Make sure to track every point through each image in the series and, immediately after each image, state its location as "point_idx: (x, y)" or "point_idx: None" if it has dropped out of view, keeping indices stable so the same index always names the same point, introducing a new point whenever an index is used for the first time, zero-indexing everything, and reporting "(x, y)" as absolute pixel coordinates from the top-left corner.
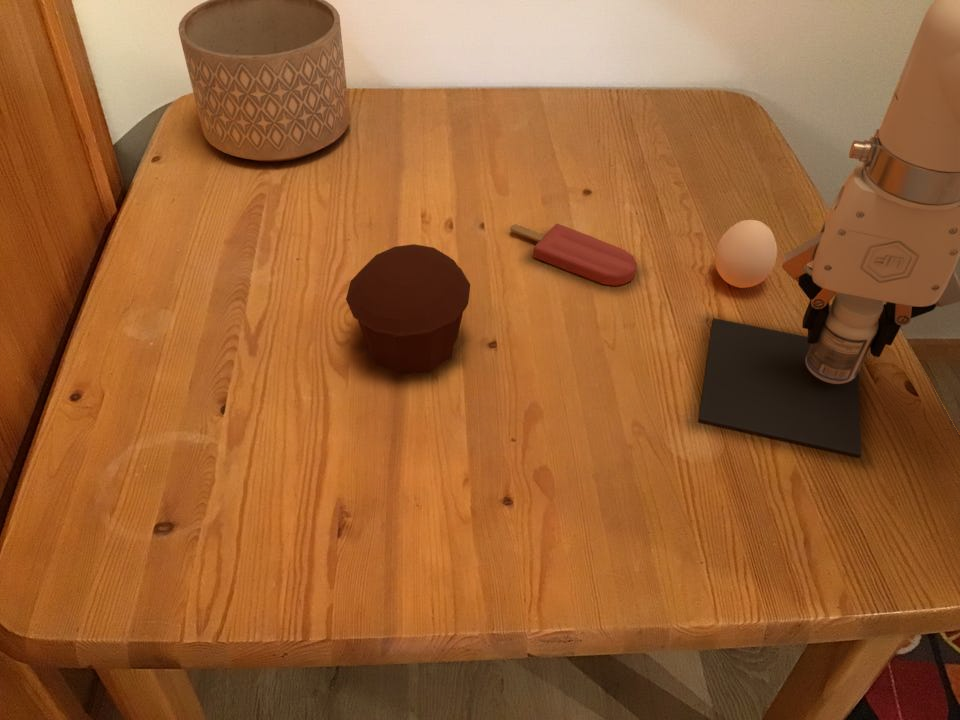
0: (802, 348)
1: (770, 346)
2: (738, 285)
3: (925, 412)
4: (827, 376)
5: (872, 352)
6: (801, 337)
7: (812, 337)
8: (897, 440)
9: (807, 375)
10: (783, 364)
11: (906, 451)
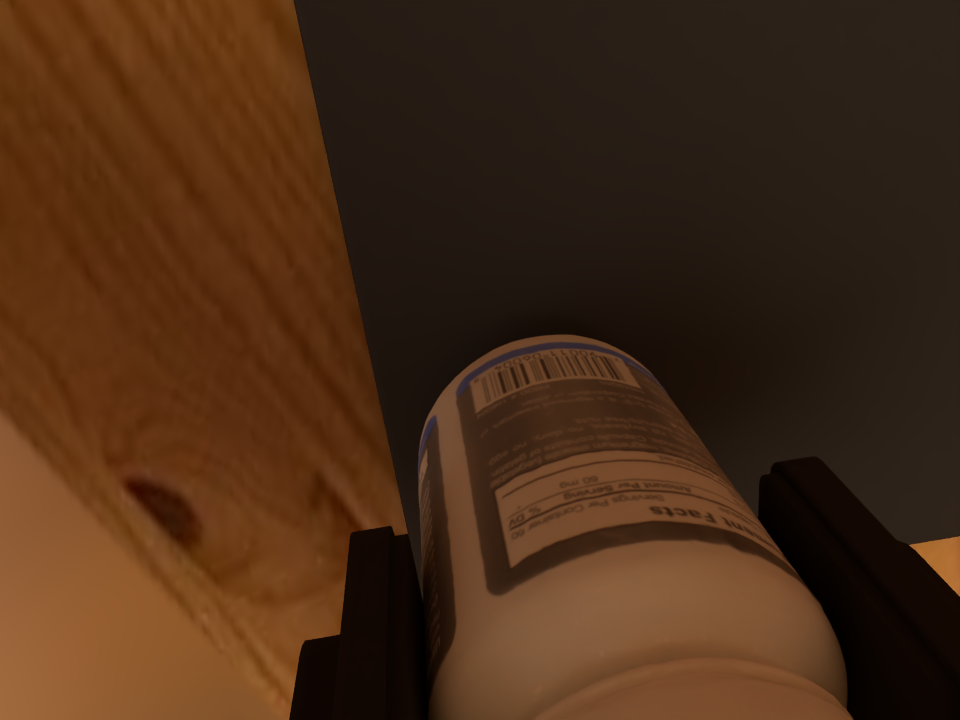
0: None
1: None
2: None
3: (62, 403)
4: (573, 348)
5: (404, 542)
6: None
7: (831, 487)
8: (129, 156)
9: None
10: (729, 398)
11: (64, 95)
